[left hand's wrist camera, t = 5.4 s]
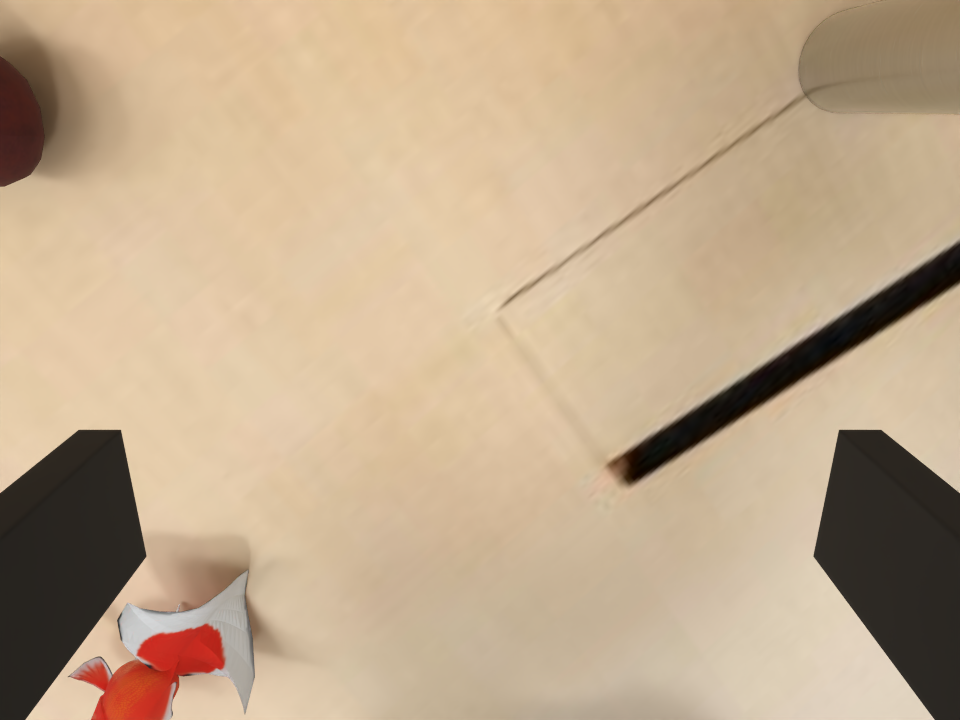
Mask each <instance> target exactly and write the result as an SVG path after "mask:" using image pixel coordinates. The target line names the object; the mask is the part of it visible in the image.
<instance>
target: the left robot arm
mask: <svg viewBox="0 0 960 720" xmlns="http://www.w3.org/2000/svg"><path fill="white" fill-rule="evenodd" d="M145 558H146V551H145V546H144V542H143V537H142V532H141V527H140V522H139V517H138V512H137V507H136V502H135V497H134V492H133V487H132V482H131V478H130V473H129V468H128V463H127V458H126V453H125V448H124V443H123V438H122V433H121V430H78V431H77V432H76V433H74V434H73V435H72V436H71V437H70V438H68V439H67V440H66V441H65V442H63V443H62V444H61V445H60V446H58V447H57V448H56V449H55V450H53V451H52V452H51V453H50V454H48V455H47V456H46V457H45V458H43V459H42V460H41V461H40V462H38V463H37V464H36V465H35V466H34V467H32V468H31V469H30V470H29V471H27V472H26V473H25V474H24V475H22V476H21V477H20V478H19V479H17V480H16V481H15V482H14V483H12V484H11V485H10V486H9V487H7V488H6V489H5V490H4V491H2V492H1V493H0V720H25V719H26V718H27V717H28V715H29V714H30V713H31V711H32V710H33V709H34V707H35V706H36V705H37V703H38V702H39V700H40V699H41V698H42V696H43V695H44V694H45V692H46V691H47V690H48V688H49V687H50V686H51V684H52V683H53V682H54V680H55V679H56V678H57V676H58V675H59V674H60V672H61V671H62V669H63V668H64V667H65V665H66V664H67V663H68V661H69V660H70V659H71V657H72V656H73V655H74V653H75V652H76V651H77V649H78V648H79V647H80V645H81V644H82V643H83V641H84V640H85V639H86V637H87V636H88V634H89V633H90V632H91V630H92V629H93V628H94V626H95V625H96V624H97V622H98V621H99V620H100V618H101V617H102V616H103V614H104V613H105V612H106V610H107V609H108V608H109V606H110V605H111V603H112V602H113V601H114V599H115V598H116V597H117V595H118V594H119V593H120V591H121V590H122V589H123V587H124V586H125V585H126V583H127V582H128V581H129V579H130V578H131V577H132V575H133V574H134V572H135V571H136V570H137V568H138V567H139V566H140V564H141V563H142V562H143V560H144V559H145ZM814 558H815V559H816V560H817V562H818V563H819V564H820V566H821V567H822V568H823V570H824V571H825V572H826V574H827V575H828V577H829V578H830V579H831V581H832V582H833V583H834V585H835V586H836V587H837V589H838V590H839V591H840V593H841V594H842V595H843V597H844V598H845V599H846V601H847V602H848V603H849V605H850V606H851V608H852V609H853V610H854V612H855V613H856V614H857V616H858V617H859V618H860V620H861V621H862V622H863V624H864V625H865V626H866V628H867V629H868V630H869V632H870V633H871V634H872V636H873V637H874V639H875V640H876V641H877V643H878V644H879V645H880V647H881V648H882V649H883V651H884V652H885V653H886V655H887V656H888V657H889V659H890V660H891V661H892V663H893V664H894V665H895V667H896V668H897V670H898V671H899V672H900V674H901V675H902V676H903V678H904V679H905V680H906V682H907V683H908V684H909V686H910V687H911V688H912V690H913V691H914V692H915V694H916V695H917V696H918V698H919V699H920V700H921V702H922V703H923V705H924V706H925V707H926V709H927V710H928V711H929V713H930V714H931V715H932V717H933V718H934V719H935V720H960V493H959V492H958V491H956V490H955V489H954V488H953V487H951V486H950V485H949V484H948V483H946V482H945V481H944V480H943V479H941V478H940V477H939V476H938V475H936V474H935V473H934V472H933V471H931V470H930V469H929V468H928V467H926V466H925V465H924V464H923V463H922V462H920V461H919V460H918V459H917V458H915V457H914V456H913V455H912V454H910V453H909V452H908V451H907V450H905V449H904V448H903V447H902V446H900V445H899V444H898V443H897V442H895V441H894V440H893V439H892V438H890V437H889V436H888V435H887V434H886V433H884V432H883V431H882V430H839V433H838V438H837V443H836V448H835V453H834V458H833V463H832V468H831V473H830V478H829V482H828V487H827V492H826V497H825V502H824V507H823V512H822V517H821V522H820V527H819V532H818V537H817V542H816V546H815V551H814Z"/></svg>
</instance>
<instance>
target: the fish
mask: <svg viewBox="0 0 960 720" xmlns="http://www.w3.org/2000/svg"><path fill="white" fill-rule="evenodd" d="M248 572H249V570H247V571H245V572H244V573H242V574H241V575H240V576H239V577H237V578H236V579H235V580H234V581H233V582H232V583H231V584H230V585H229V586H228V587H227V588H226V589H225V590H224V591H222V592H221V593H220V594H218V595H217V596H215V597H214V598H213V599H211V600H210V601H208V602H207V603H205V604H204V605H202V606H201V607H199V608H197V609H192V610H187V611H183V612H179V607H180V604H179V605H178V607H177V610H176V612H159V611H153V610H147V609H141V608H138V607H136V606H134V605H132V604H130V603H127V605H126V606H125V608H124V610H123V611H122V613H121V615H120V616H119V618H118V620H117V622H118V627H119V632H120V637H121V641H122V642H123V644H124V645H125V646H126V648H127V649H128V650H129V651H130V652H131V653H132V654H133V655H134V656H135V657H136V658H135V660H134V661H130V662H128V663H126V664H124V665H123V666H121V667H120V668H119V669H118V670H117V671H116V672H115V673H114V674H113V675H112V673H111V671H110V668H109V667H108V665H107V663H106V662H105V661H104V659H103V658H102V657H96V658H93V659H91V660H89V661H87V662H85V663H83V664H82V665H81V666H80V667H79V668H78V669H77V670H75V671H74V672H73V673H72V674H71V675H70V676H68V677H72V678H74V679H77V680H82V681H85V682H87V683H89V684H92V685H94V686H96V687H97V688H99V689H101V690H102V691H104V692H105V693H104V694H103V695H102V696H101V697H100V699H99V701H98V704H97V707H96V709H95V712H94V714H93V716H92V719H91V720H170V719H171V717H172V715H173V712H172V700H173V699H174V697H175V695H176V693H177V690H178V688H179V677H178V675H179V676H190V675H199V674H212V675H217V676H226V677H228V678H229V679H230V680H231V681H232V682H233V684H234V685H235V687H236V689H237V691H238V693H239V696H240V698H241V701H242V704H243V708H244V713H246V709H247V705H248V701H249V697H250V693H251V689H252V685H253V681H254V678H255V670H254V654H253V638H252V633H251V627H250V622H249V617H248V611H247V605H246V599H245V590H246V585H247V577H248Z"/></svg>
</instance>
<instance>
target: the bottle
mask: <svg viewBox="0 0 960 720" xmlns="http://www.w3.org/2000/svg"><path fill="white" fill-rule="evenodd" d="M799 78H800V83H801V86H802V89H803V91H804V93H805V95H806V96H807V98H808V99H809V100H810V101H811V102H812V103H813V104H814V105H815V106H817V107H819V108H820V109H822V110H825V111H828V112H834V113H878V114H938V115H960V0H882V1H878V2H874V3H871V4H867V5H863V6H859V7H855V8H852V9H848V10H844V11H841V12H838V13H836V14H834V15H832V16H830V17H829V18H827V19H826V20H824V21H823V22H822V23H821V24H820V25H819V26H818V27H817V28H816V29H815V30H814V31H813V32H812V34H811V35H810V36H809V38H808V40H807V41H806V43H805V46H804V48H803V51H802V53H801V57H800V62H799Z"/></svg>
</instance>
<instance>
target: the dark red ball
mask: <svg viewBox="0 0 960 720" xmlns="http://www.w3.org/2000/svg"><path fill="white" fill-rule="evenodd" d="M43 144H44V130H43V124H42V117H41V111H40V107H39V105H38V103H37V100H36V98H35V96H34V94H33V92H32V90H31V88H30V86H29V84H28V82H27V80H26V79H25V78H24V77H23V76H22V75H21V74H20V73H19V72H18V71H17V70H16V69H15V68H14V67H13V66H12V65H11V64H10V63H9V62H7V61H6V60H4V59H3V58H2V57H0V187H2V186H7V185H9V184H11V183H14V182H16V181H18V180H21V179H23V178H25V177H27V176H29V175H31V173H32V172H33V170H34V169H35V167H36V166H37V164H38V163H39V161H40V160H41V156H42V150H43Z"/></svg>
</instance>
